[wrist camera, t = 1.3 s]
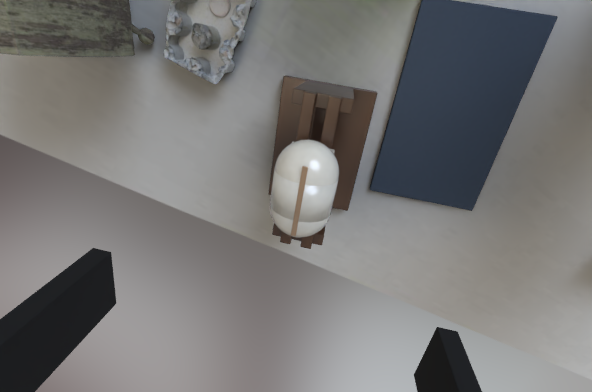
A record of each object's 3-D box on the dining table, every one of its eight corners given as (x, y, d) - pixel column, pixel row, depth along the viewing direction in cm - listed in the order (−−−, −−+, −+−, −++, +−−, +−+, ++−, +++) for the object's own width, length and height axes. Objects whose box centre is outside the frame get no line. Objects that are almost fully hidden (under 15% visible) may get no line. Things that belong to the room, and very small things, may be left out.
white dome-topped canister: (346, 139, 26) (345, 157, 21) (327, 224, 29) (322, 256, 24) (285, 127, 26) (271, 143, 21) (273, 213, 29) (259, 242, 25)
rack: (376, 91, 34) (387, 106, 24) (347, 206, 40) (346, 257, 30) (285, 75, 35) (259, 83, 25) (270, 190, 41) (244, 234, 31)
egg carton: (201, -53, 31) (182, -67, 28) (269, -12, 32) (258, -21, 28) (169, 53, 36) (148, 52, 32) (228, 87, 36) (215, 90, 32)
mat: (554, 17, 29) (558, 16, 29) (470, 208, 38) (472, 210, 37) (422, -3, 30) (423, -5, 29) (369, 188, 38) (369, 190, 38)
